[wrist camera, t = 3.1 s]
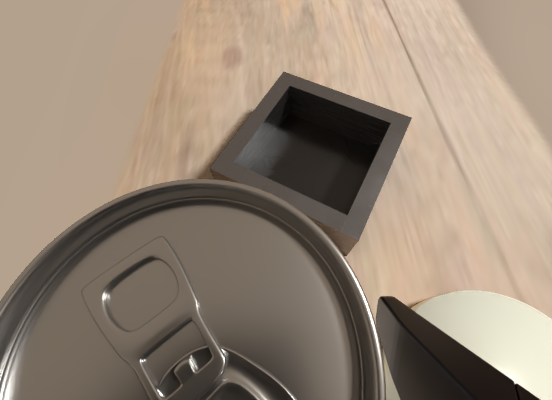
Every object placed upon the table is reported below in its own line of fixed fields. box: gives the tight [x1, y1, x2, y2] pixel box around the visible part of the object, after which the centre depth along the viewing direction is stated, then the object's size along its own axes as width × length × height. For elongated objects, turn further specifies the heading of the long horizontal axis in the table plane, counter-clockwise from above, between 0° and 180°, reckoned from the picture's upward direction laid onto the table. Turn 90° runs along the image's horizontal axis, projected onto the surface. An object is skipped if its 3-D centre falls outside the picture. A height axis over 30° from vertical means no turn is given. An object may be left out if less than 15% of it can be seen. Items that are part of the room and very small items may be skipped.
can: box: [0, 179, 386, 400], centre depth 9 cm, size 6×6×12 cm
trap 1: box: [210, 72, 411, 256], centre depth 18 cm, size 9×9×3 cm
